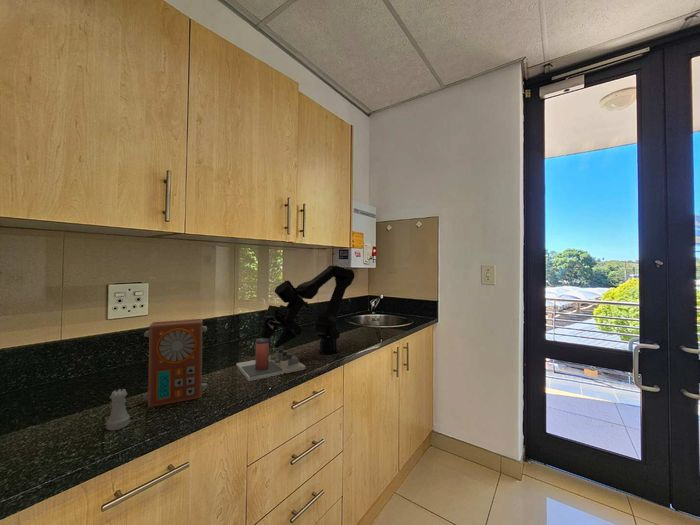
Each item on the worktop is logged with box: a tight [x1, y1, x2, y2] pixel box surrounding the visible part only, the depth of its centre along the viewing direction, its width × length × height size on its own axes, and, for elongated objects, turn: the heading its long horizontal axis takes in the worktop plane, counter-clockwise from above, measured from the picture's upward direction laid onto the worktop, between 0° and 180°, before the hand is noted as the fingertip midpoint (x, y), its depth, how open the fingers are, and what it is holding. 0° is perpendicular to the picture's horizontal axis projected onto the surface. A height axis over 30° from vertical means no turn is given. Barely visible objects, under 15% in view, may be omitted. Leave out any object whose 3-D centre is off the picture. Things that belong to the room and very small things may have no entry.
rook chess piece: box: [105, 388, 131, 432], centre depth 66 cm, size 4×4×8 cm
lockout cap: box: [254, 337, 270, 370], centre depth 101 cm, size 4×4×10 cm
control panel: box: [142, 318, 208, 408], centre depth 81 cm, size 21×7×15 cm
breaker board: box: [235, 347, 306, 382], centre depth 106 cm, size 20×17×5 cm
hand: (267, 345), depth 103 cm, fingers open, 9 cm apart
